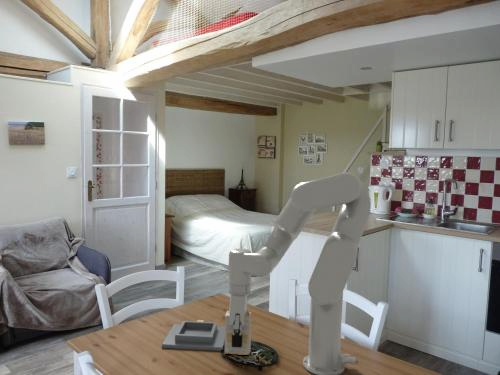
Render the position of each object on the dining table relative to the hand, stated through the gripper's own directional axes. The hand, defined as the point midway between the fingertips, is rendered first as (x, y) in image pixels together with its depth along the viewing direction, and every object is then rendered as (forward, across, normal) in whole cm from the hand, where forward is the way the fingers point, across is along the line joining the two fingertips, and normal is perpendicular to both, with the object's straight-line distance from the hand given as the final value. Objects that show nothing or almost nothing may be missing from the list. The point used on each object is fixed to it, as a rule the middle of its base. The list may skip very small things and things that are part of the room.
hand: (237, 341), depth 130 cm
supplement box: (+4, 0, 0) cm, 4 cm away
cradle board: (+4, -9, -15) cm, 18 cm away
